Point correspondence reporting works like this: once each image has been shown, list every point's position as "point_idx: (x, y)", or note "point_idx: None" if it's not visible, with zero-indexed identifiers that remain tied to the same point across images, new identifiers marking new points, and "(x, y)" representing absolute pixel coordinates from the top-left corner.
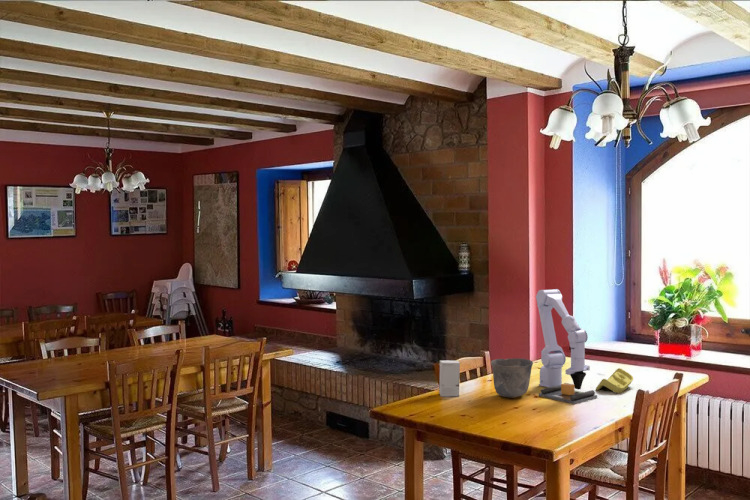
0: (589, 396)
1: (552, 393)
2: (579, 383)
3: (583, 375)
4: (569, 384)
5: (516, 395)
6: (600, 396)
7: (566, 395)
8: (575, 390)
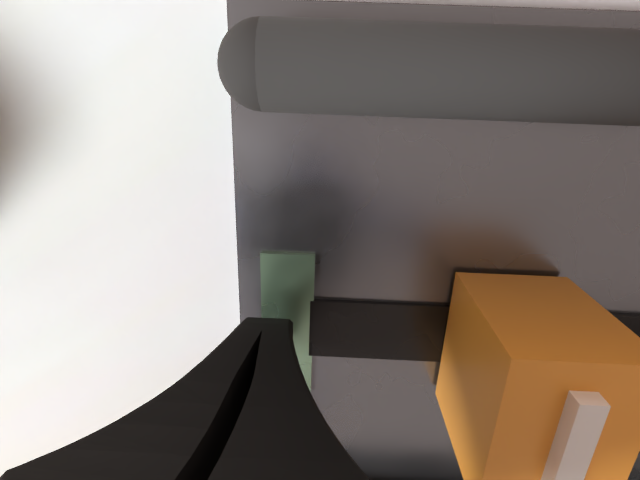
0: None
1: None
2: (292, 366)
3: (145, 475)
4: (600, 415)
5: None
6: (117, 31)
7: None
8: None
